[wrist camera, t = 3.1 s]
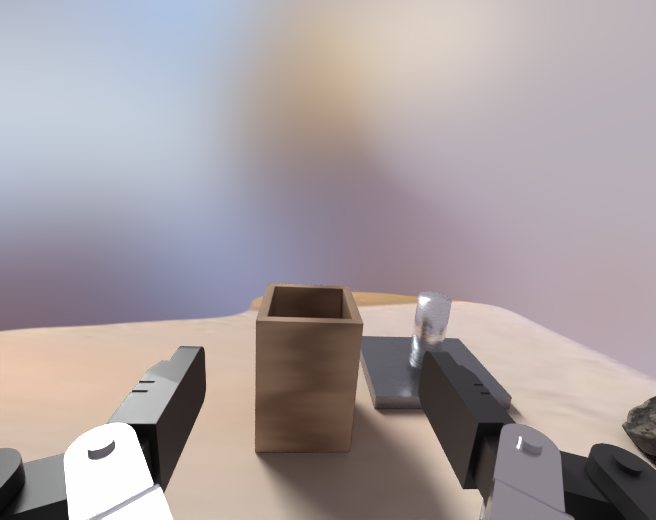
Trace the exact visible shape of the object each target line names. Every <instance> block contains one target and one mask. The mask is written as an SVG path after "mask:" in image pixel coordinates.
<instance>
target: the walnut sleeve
mask: <svg viewBox="0 0 656 520" xmlns="http://www.w3.org/2000/svg"><path fill="white" fill-rule="evenodd" d="M362 331H363V322H362V319H361V316H360V314H359V311H358V308H357V306H356V303H355V301H354V298H353V295H352V293H351V290H350V287H349V286H323V285H322V286H321V285H297V284H272V283H269V284H268V285H267V288H266V291H265V295H264V297H263V301H262V304H261V307H260V310H259V313H258V316H257V319H256V400H255V452H350V444H351V435H352V425H353V416H354V407H355V397H356V388H357V378H358V369H359V360H360V350H361V341H362Z"/></svg>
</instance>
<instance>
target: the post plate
mask: <svg viewBox="0 0 656 520" xmlns="http://www.w3.org/2000/svg"><path fill="white" fill-rule="evenodd" d="M451 303H452V300H451V299H450V298H449V297H448V296H445V295H443V294H440V293H435V292H422V293H420V294H419V296H418V302H417V309H416V315H415V322H414V328H413V335H412V337H373V336H362V341H361V350H360V361H361V364H362V368H363V371H364V374H365V378H366V381H367V385H368V388H369V392H370V395H371V398H372V402H373V405H374V408H422V406H421V403H420V400H419V394H418V387H419V381H420V375H421V369H422V363H423V357H424V354H425V352H426V351H447V352H448V353H449V354H450V355H451V356H452V358H453V359H454V360H455V361H456V363H457V364H458V365H463V366H464V367H465V368H467V369H468V370H470V371H471V372H473V373H474V374H475V375H476V376H477V377H478V378H479V380H480V381H481V382H482V383H483V386H485V387H486V388H487V389H488V390H489V392H490V394H491V395H493V396H494V398H495V399H496V400H497V401H498V402H499V404H500V405H501V406H502V407H503V408H504V409H509V406H510V402H511V398H512V397H511V396H510V395H509V394H508V393H507V392H506V390H505V389H504V388H503V387H502V386H501V385H500V384H499V383H498V382H497V381H496V379H495V378H494V377H493V376H492V375H491V374H490V373H489V372H488V371H487V370H486V368H485V367H484V366H483V365H482V364H481V363H480V362H479V361H478V360H477V359H476V357H475V356H474V355H473V354H472V353H471V352H470V351H469V350H468V349H467V348H466V346H465V345H464V344H463V343H462V342H461V341H460V340H459V339H453V338H445V335H446V330H447V324H448V319H449V313H450V308H451Z"/></svg>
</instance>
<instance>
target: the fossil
mask: <svg viewBox="0 0 656 520" xmlns="http://www.w3.org/2000/svg"><path fill="white" fill-rule="evenodd" d="M622 427H623V428H624V430H625V432H626V433H627V435H628V436H629V437H630V439H631V440H632V441H633V442H634V443H635V444H636V445H637V446H638V447H639V448H640V449H641V450H642V451H644V452H646V453H648V454H651V455H654V456H656V396H655V397H653V398H650V399H649V400H647V401H645V402H644V404H642V405H640V406H637V407H635V408H633V409H632V410H630V411H629V413H628V418H627V422H625V423H624V424H623V425H622Z"/></svg>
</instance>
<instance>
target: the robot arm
mask: <svg viewBox="0 0 656 520" xmlns="http://www.w3.org/2000/svg"><path fill="white" fill-rule="evenodd" d="M205 392H206V373H205V352H204V348H203V347H191V346H180V347H179V348H178V349H177V351H176V352H175V354H174V355H173V356H172V358H171V359H170V361H161V362H159V363H158V364H156V365H155V366H153V367H152V368H150V369H149V370H148V371H147V372H146V373H145V375H144V376H143V377H142V378H141V380H140V382H139V383H138V384H137V385H136V386H135V387H134V389H133V390H132V393H130V394H129V395H128V396H127V398H126V399H125V400H124V401H123V403H122V404H121V405H120V407H119V408H118V409H117V410H116V412H115V413H114V414H113V416H112V417H111V418H110V419H109V421H108V422H107V423H106V425H103V426H100V427H97V428H95V429H93V430H91V431H89V432H87V433H85V434H84V435H82V436H81V437H79V438H78V439H77V440H76V441H75V442H73V443H72V444H71V446H70V447H69V448H68V450H67V452H66V453H63V454H59V455H56V456H52V457H47V458H43V459H39V460H35V461H31V462H27V463H23V462H22V458H21V455H20V453H19V452H18V451H17V450H15V449H11V448H0V520H173V519H172V517H171V514H170V511H169V509H168V506H167V503H166V501H165V498H164V495H163V494H164V492H165V490H166V488H167V485H168V483H169V481H170V478H171V476H172V474H173V471H174V469H175V467H176V464H177V462H178V460H179V458H180V455H181V453H182V451H183V448H184V446H185V444H186V441H187V439H188V437H189V435H190V432H191V430H192V428H193V425H194V423H195V421H196V418H197V416H198V414H199V411H200V409H201V407H202V404H203V402H204V398H205ZM418 394H419V400H420V403H421V406H422V408H423V410H424V412H425V414H426V416H427V418H428V420H429V422H430V424H431V426H432V428H433V430H434V432H435V434H436V436H437V438H438V440H439V442H440V444H441V446H442V448H443V450H444V452H445V454H446V456H447V458H448V460H449V462H450V464H451V466H452V468H453V470H454V472H455V474H456V476H457V478H458V480H459V482H460V484H461V486H462V488H463V489H478V490H479V491H480V493H481V495H482V497H483V503H482V507H481V512H480V518H479V520H656V470H655V469H654V468H653V467H651V466H650V465H649V464H648V463H647V462H645V461H644V460H642V459H641V458H639V457H638V456H636V455H634V454H633V453H631V452H629V451H627V450H625V449H622V448H620V447H617V446H614V445H610V444H603V443H600V444H595V445H593V446H592V448H591V451H590V453H589V456H588V458H587V457H583V456H579V455H575V454H571V453H567V452H563V451H559V449H558V448H557V446H556V445H555V444H554V443H553V442H552V441H551V440H550V439H549V438H548V437H547V436H545V435H544V434H542V433H541V432H539V431H537V430H535V429H533V428H531V427H528V426H526V425H522V424H516V423H515V422H514V420H513V419H512V418H511V417H510V416H509V414H508V413H507V412H506V411H505V410H504V408H503V407H502V406H501V405H500V404H499V402H498V401H497V400H496V399H495V398H494V396H493V395H491V394H490V392H489V390H488V389H487V388H486V387H485V386H483V383H482V382H481V381H480V380H479V378H478V377H477V376H476V375H475V374H474V373H473V372H471V371H470V370H468V369H467V368H465V367H464V366H463V365H458V364H457V363H456V361H455V360H454V359H453V358H452V356H451V355H450V354H449V353H448V352H447V351H426V352H425V354H424V357H423V363H422V369H421V375H420V381H419V387H418Z"/></svg>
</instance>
